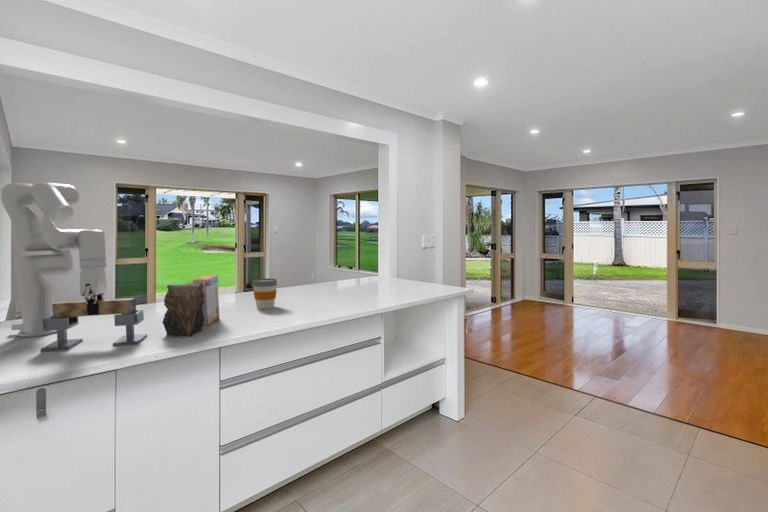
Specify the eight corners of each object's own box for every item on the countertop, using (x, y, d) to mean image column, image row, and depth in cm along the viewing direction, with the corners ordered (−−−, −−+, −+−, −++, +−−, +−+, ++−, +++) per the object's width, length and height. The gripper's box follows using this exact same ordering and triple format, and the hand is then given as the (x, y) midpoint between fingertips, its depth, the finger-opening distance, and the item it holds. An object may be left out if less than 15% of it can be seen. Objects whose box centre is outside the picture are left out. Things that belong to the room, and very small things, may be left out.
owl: (161, 335, 145) (159, 285, 143) (185, 327, 157) (183, 281, 155) (188, 337, 142) (186, 287, 140) (210, 329, 154) (209, 282, 153)
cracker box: (206, 319, 171) (205, 275, 170) (219, 318, 172) (218, 275, 170) (193, 327, 157) (192, 279, 156) (208, 326, 158) (206, 279, 156)
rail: (53, 318, 128) (52, 303, 127) (59, 315, 131) (58, 301, 131) (132, 313, 135) (131, 299, 135) (136, 310, 139) (135, 297, 138)
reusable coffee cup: (273, 309, 191) (272, 281, 190) (249, 309, 192) (248, 281, 190) (280, 304, 204) (279, 278, 203) (258, 304, 204) (257, 278, 203)
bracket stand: (40, 351, 125) (38, 320, 124) (56, 343, 134) (54, 313, 133) (138, 343, 134) (137, 314, 133) (146, 336, 143) (145, 308, 142)
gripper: (91, 262, 139) (94, 309, 140) (68, 266, 123) (72, 319, 124) (114, 261, 141) (117, 308, 142) (95, 265, 125) (98, 317, 126)
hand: (96, 312), depth 133 cm, fingers closed on rail, 4 cm apart
